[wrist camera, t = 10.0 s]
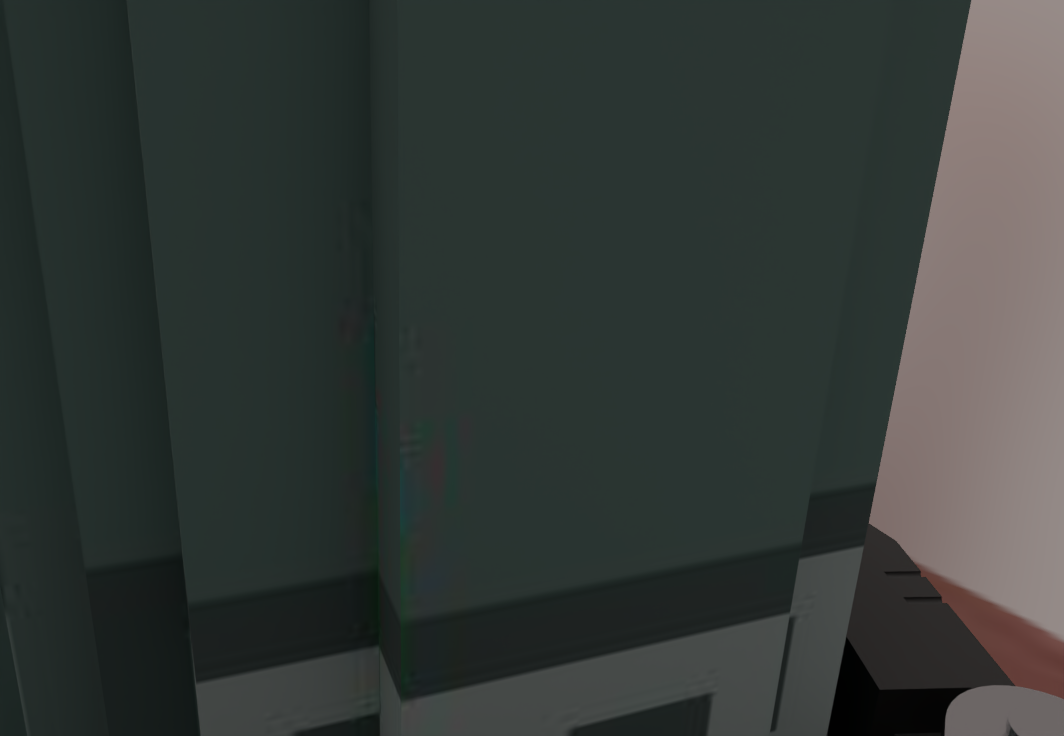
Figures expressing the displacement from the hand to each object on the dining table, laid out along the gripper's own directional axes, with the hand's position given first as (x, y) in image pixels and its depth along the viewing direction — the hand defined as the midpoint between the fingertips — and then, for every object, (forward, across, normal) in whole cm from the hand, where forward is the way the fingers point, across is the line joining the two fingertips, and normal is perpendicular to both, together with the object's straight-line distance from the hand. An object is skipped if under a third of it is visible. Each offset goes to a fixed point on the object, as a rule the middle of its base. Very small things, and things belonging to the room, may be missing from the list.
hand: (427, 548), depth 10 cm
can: (-2, 0, +9) cm, 10 cm away
